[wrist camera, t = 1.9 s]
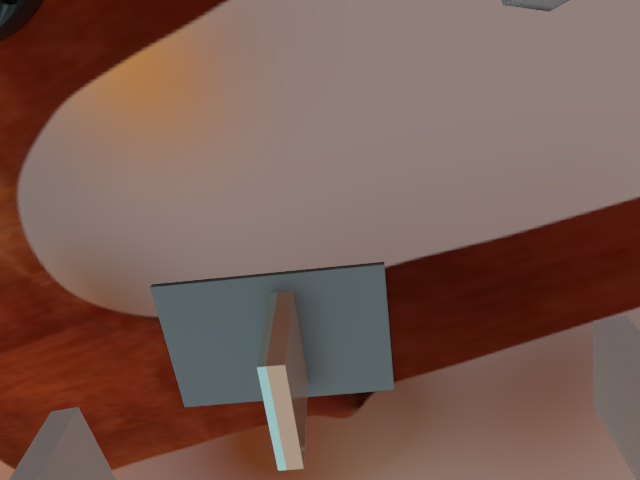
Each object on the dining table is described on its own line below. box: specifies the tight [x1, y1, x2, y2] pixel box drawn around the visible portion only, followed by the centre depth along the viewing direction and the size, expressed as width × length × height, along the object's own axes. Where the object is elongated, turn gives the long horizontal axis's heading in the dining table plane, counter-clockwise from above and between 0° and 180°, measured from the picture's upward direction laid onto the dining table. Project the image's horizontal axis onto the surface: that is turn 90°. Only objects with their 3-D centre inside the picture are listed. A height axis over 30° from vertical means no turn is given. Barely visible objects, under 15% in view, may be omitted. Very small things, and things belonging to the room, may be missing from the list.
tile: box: [257, 291, 308, 470], centre depth 41 cm, size 2×9×9 cm, turn 7°
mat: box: [150, 262, 394, 407], centre depth 46 cm, size 18×12×1 cm, turn 97°
